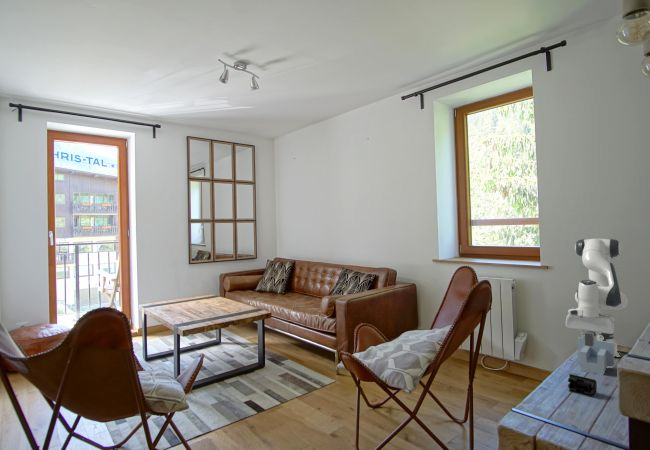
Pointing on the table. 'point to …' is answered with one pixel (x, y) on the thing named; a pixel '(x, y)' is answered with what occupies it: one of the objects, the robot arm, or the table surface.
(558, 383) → the table surface
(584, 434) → the table surface
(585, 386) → the end cap
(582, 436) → the table surface
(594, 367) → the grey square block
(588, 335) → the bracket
